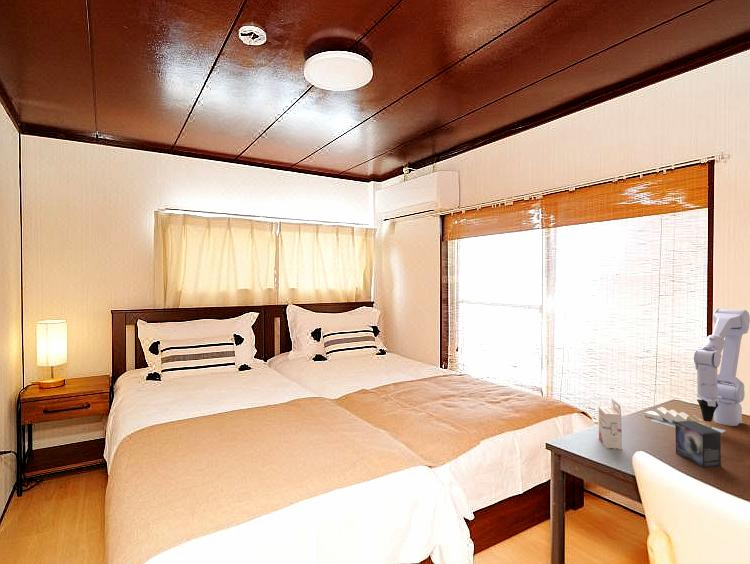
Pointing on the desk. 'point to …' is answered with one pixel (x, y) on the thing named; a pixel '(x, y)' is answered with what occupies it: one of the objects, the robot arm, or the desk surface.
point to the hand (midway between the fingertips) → (707, 420)
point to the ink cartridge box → (610, 426)
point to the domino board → (674, 424)
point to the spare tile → (698, 420)
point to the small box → (698, 443)
